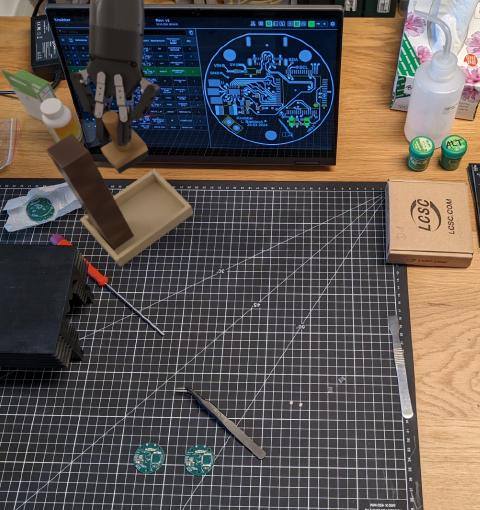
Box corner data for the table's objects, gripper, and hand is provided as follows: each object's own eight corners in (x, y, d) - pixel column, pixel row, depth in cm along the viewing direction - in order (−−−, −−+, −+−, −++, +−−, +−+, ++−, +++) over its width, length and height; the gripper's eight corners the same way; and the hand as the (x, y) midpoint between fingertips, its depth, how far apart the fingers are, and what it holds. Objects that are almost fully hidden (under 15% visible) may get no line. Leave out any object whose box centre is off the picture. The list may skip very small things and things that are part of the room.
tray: (121, 269, 113) (116, 260, 110) (85, 228, 116) (79, 219, 113) (194, 216, 118) (191, 206, 115) (158, 178, 122) (154, 168, 119)
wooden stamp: (119, 175, 101) (99, 135, 91) (106, 159, 102) (85, 118, 93) (150, 156, 103) (134, 114, 93) (137, 141, 104) (120, 99, 95)
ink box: (67, 114, 128) (42, 67, 116) (54, 128, 127) (27, 81, 115) (40, 101, 130) (12, 54, 118) (27, 115, 128) (-2, 68, 116)
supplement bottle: (87, 130, 127) (70, 98, 118) (74, 151, 124) (57, 119, 116) (63, 124, 127) (45, 91, 119) (50, 144, 125) (30, 112, 116)
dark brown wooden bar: (113, 250, 113) (62, 168, 90) (99, 234, 115) (45, 149, 91) (134, 236, 115) (88, 151, 92) (120, 220, 116) (71, 133, 93)
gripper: (57, 17, 87) (57, 140, 93) (153, 31, 86) (147, 154, 92) (83, 20, 94) (82, 134, 100) (172, 33, 94) (165, 147, 99)
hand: (113, 143), depth 96 cm, fingers closed on wooden stamp, 2 cm apart
